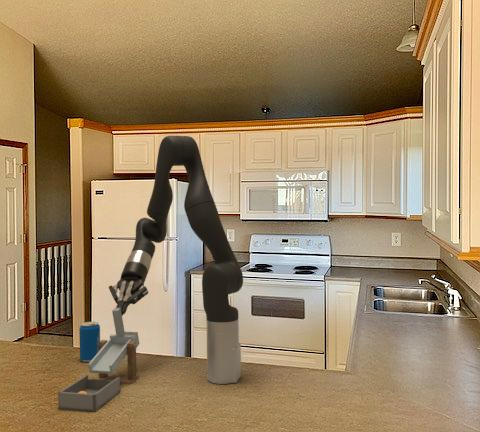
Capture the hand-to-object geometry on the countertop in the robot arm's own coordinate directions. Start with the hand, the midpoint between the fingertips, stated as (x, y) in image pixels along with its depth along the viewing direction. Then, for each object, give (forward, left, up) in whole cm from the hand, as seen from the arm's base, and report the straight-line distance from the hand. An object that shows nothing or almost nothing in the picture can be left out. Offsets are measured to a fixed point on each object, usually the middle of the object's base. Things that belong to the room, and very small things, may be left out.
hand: (119, 314), depth 139 cm
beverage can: (+18, -14, -19) cm, 30 cm away
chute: (0, +2, -13) cm, 13 cm away
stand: (0, +2, -19) cm, 19 cm away
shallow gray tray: (0, +17, -19) cm, 25 cm away
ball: (0, +21, -16) cm, 27 cm away
